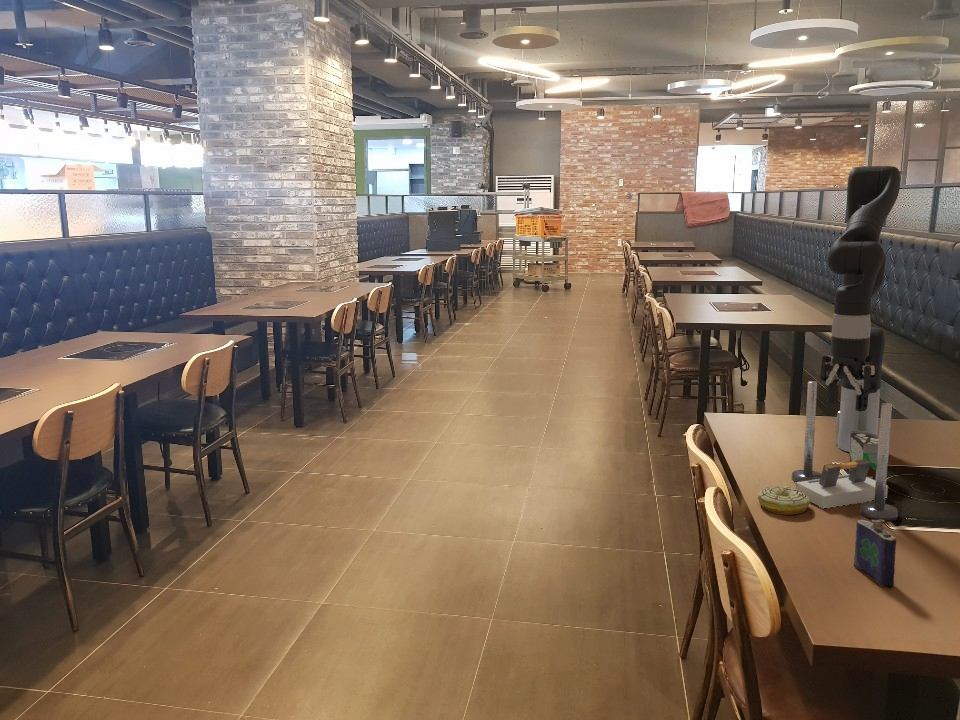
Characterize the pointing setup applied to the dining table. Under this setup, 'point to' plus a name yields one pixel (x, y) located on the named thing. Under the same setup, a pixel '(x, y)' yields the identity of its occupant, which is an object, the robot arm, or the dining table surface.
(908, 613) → the dining table surface
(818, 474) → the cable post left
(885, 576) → the flask
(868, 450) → the food container
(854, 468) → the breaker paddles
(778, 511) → the decorated donut
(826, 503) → the switch panel
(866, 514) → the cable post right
